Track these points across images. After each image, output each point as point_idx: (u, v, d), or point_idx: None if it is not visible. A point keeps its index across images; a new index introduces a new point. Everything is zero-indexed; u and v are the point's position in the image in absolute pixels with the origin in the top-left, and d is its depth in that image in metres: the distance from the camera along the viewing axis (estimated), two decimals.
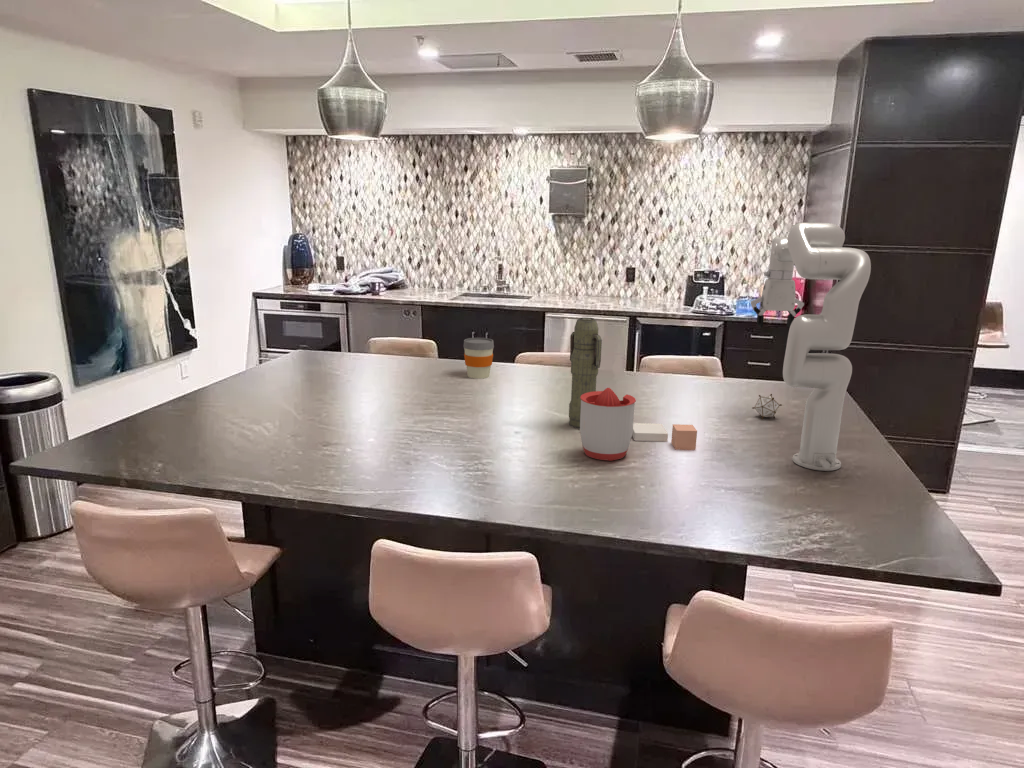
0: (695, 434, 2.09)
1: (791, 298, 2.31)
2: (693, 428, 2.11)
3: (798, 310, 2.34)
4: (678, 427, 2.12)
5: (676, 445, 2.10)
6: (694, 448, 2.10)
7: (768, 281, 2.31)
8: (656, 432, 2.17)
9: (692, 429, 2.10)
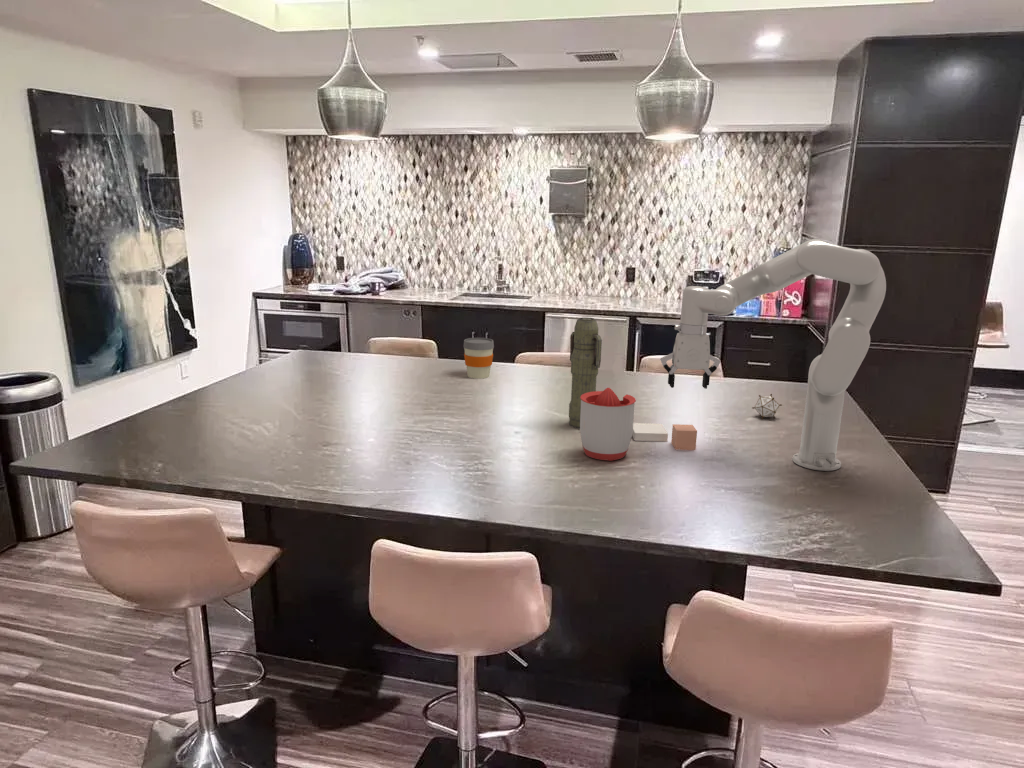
0: (695, 434, 2.09)
1: (705, 355, 2.03)
2: (693, 428, 2.11)
3: (714, 368, 2.06)
4: (678, 427, 2.12)
5: (676, 445, 2.10)
6: (694, 448, 2.10)
7: (678, 336, 2.03)
8: (656, 432, 2.17)
9: (692, 429, 2.10)
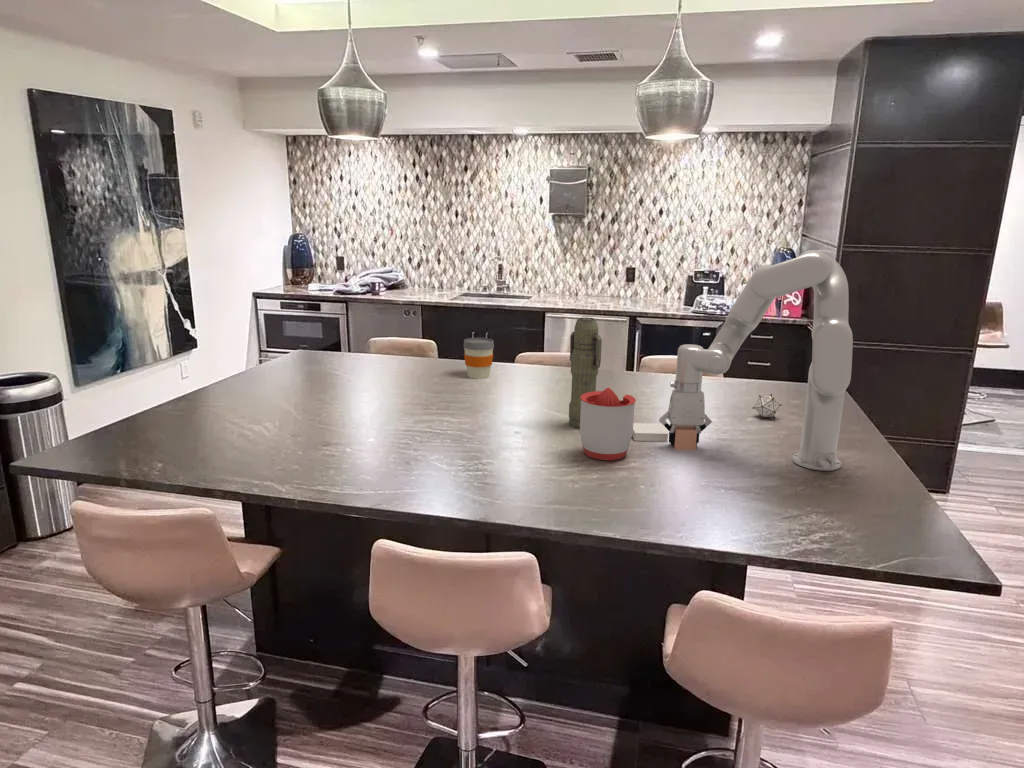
0: (695, 434, 2.09)
1: (700, 412, 2.08)
2: (693, 428, 2.11)
3: (703, 427, 2.10)
4: (678, 426, 2.12)
5: (676, 445, 2.10)
6: (694, 448, 2.10)
7: (674, 393, 2.07)
8: (656, 432, 2.17)
9: (692, 428, 2.10)
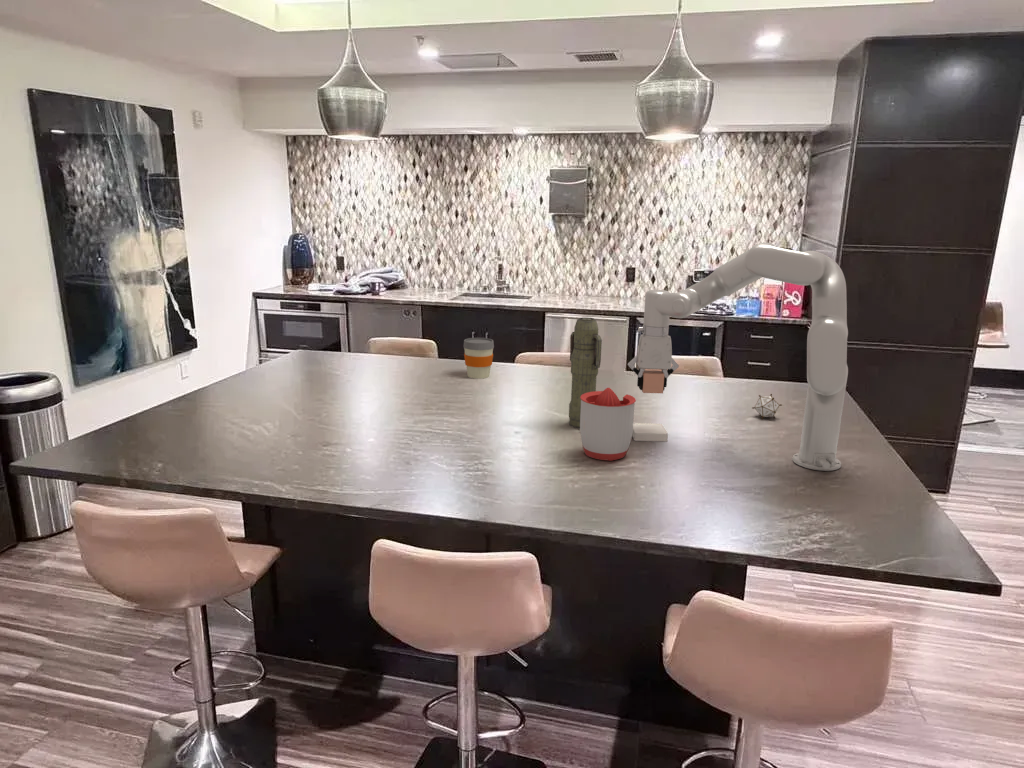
0: (662, 377, 2.14)
1: (667, 356, 2.13)
2: (661, 372, 2.16)
3: (671, 371, 2.16)
4: (646, 371, 2.17)
5: (644, 388, 2.15)
6: (662, 391, 2.15)
7: (642, 337, 2.12)
8: (656, 432, 2.17)
9: (659, 372, 2.15)
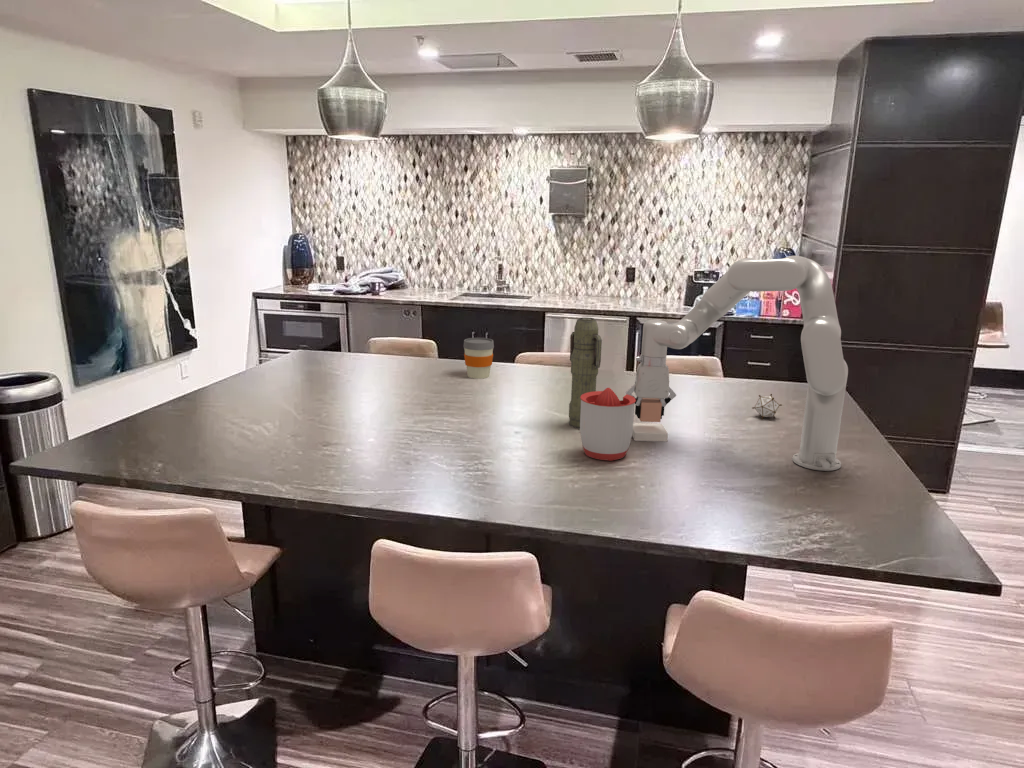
0: (660, 406, 2.16)
1: (664, 385, 2.15)
2: (658, 401, 2.18)
3: (668, 400, 2.18)
4: (644, 399, 2.19)
5: (642, 417, 2.17)
6: (659, 420, 2.17)
7: (639, 367, 2.15)
8: (656, 432, 2.17)
9: (657, 401, 2.18)
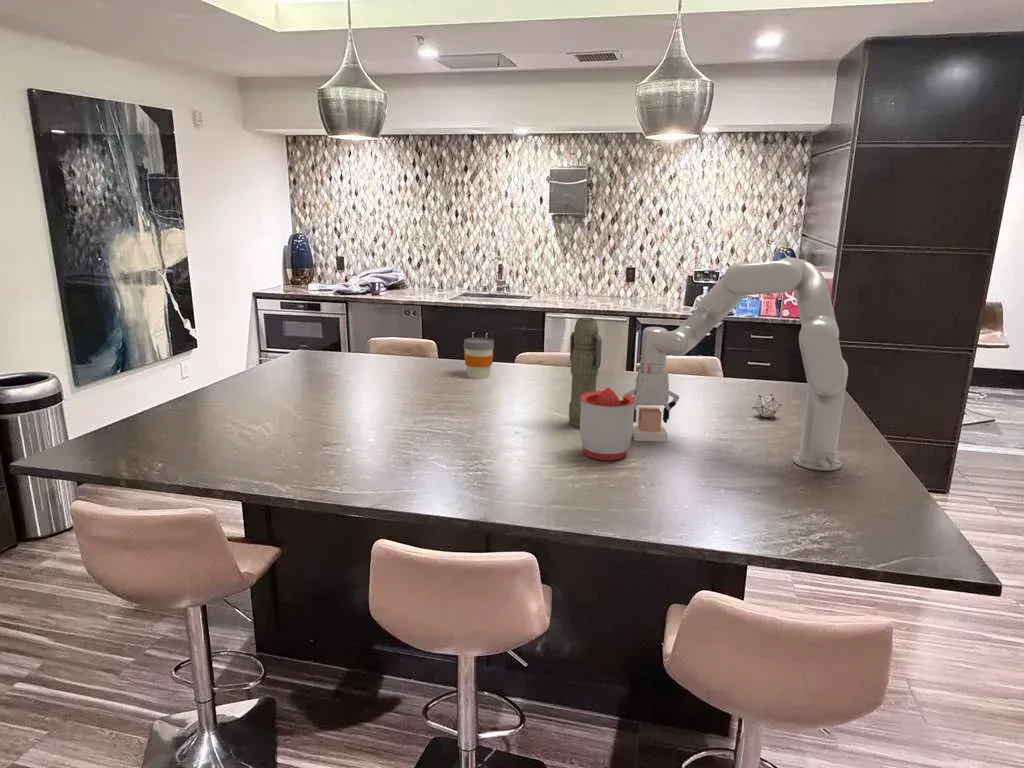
0: (660, 416, 2.17)
1: (664, 392, 2.16)
2: (658, 410, 2.19)
3: (673, 404, 2.18)
4: (644, 409, 2.20)
5: (641, 426, 2.18)
6: (659, 429, 2.18)
7: (639, 374, 2.15)
8: (656, 432, 2.17)
9: (657, 411, 2.18)
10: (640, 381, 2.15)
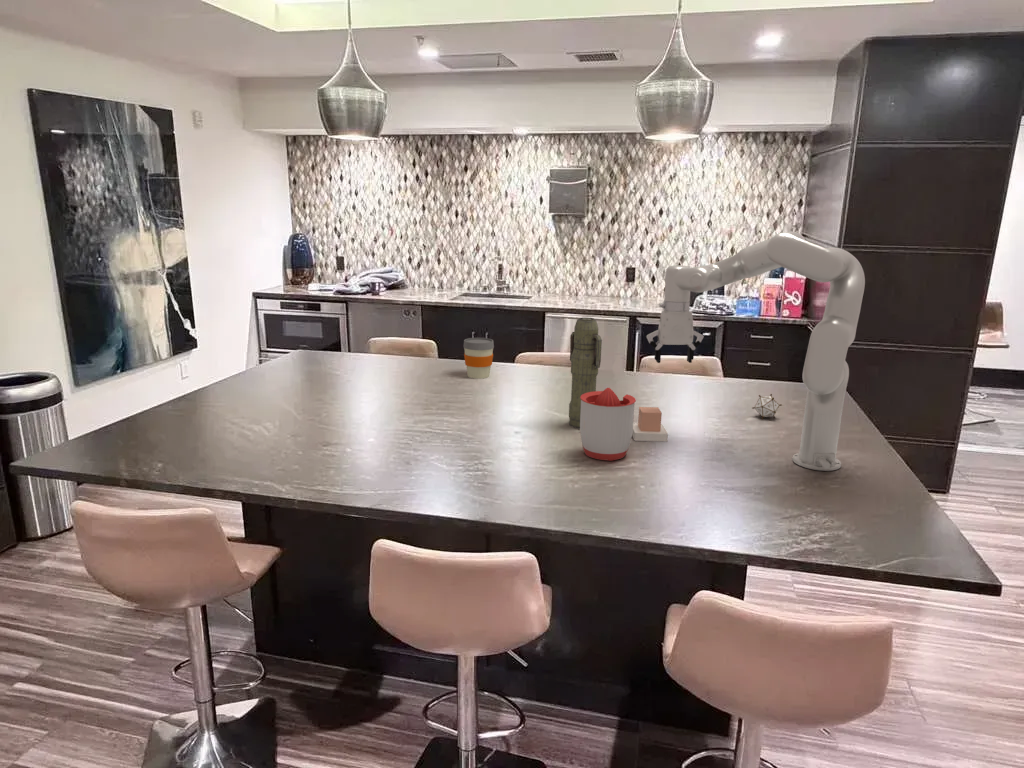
0: (660, 416, 2.17)
1: (688, 331, 2.14)
2: (658, 410, 2.19)
3: (697, 343, 2.17)
4: (644, 409, 2.20)
5: (641, 426, 2.18)
6: (659, 429, 2.18)
7: (663, 313, 2.14)
8: (656, 432, 2.17)
9: (657, 411, 2.18)
10: (664, 320, 2.14)
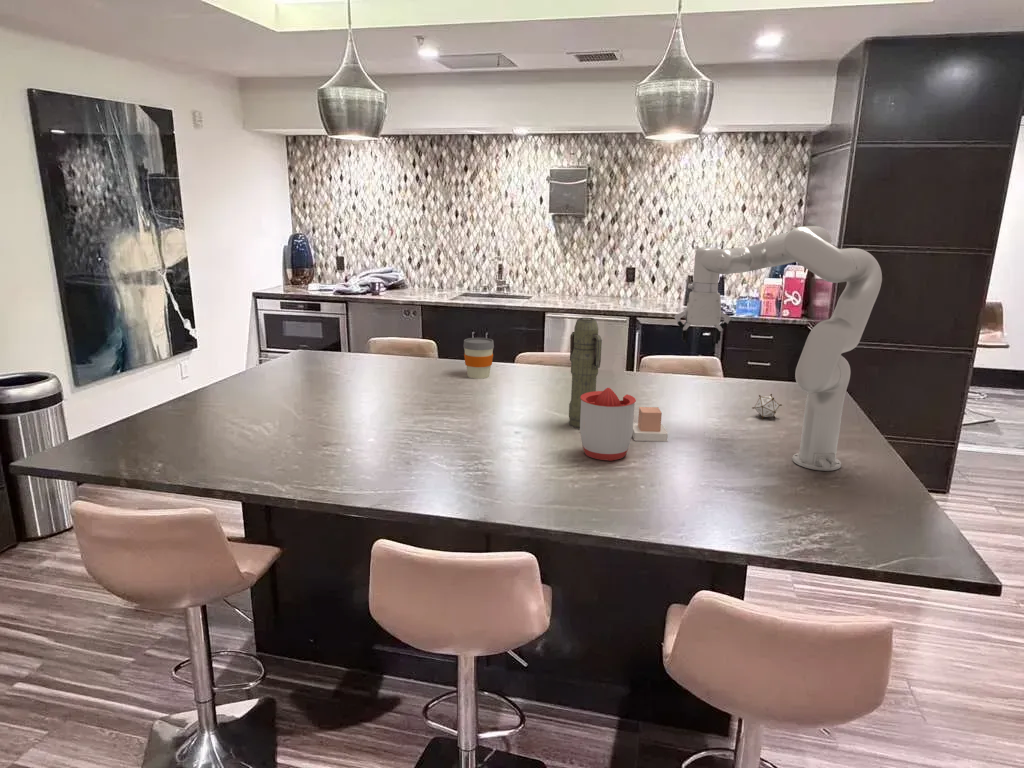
0: (660, 416, 2.17)
1: (716, 312, 2.18)
2: (658, 410, 2.19)
3: (724, 324, 2.21)
4: (644, 409, 2.20)
5: (641, 426, 2.18)
6: (659, 429, 2.18)
7: (692, 294, 2.18)
8: (656, 432, 2.17)
9: (657, 411, 2.18)
10: (693, 301, 2.18)
